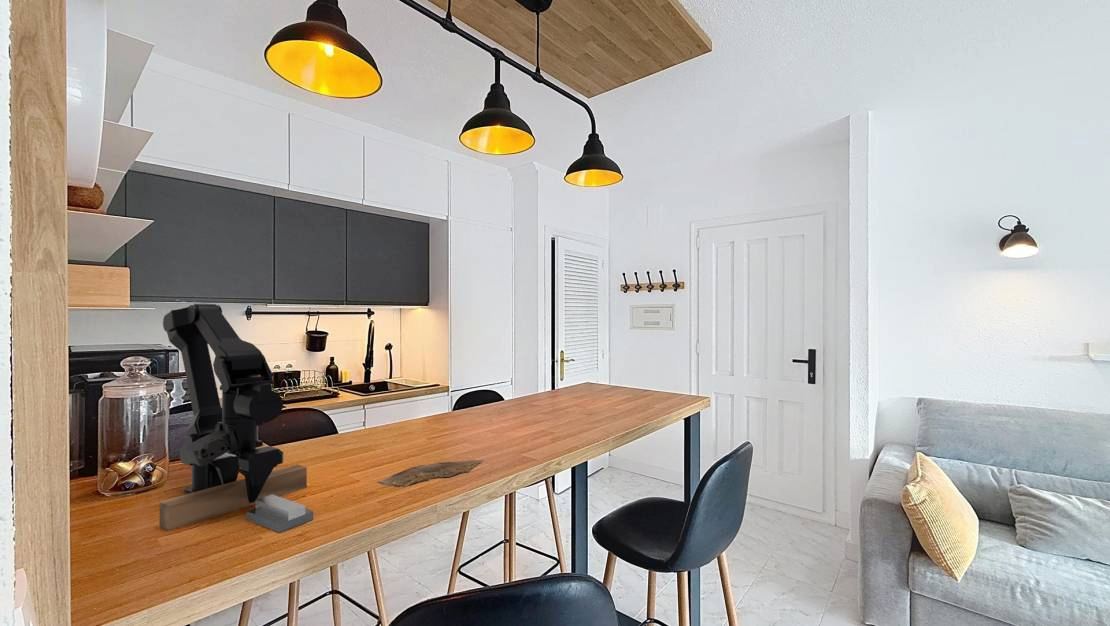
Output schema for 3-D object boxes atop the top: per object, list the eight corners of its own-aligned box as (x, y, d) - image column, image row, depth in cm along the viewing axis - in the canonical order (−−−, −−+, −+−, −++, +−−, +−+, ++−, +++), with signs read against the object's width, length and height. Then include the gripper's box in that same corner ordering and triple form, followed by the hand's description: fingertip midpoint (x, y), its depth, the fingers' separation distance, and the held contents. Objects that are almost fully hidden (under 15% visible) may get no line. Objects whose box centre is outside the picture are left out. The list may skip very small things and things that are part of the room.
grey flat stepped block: (246, 519, 86) (246, 502, 86) (280, 507, 91) (280, 491, 91) (279, 532, 81) (279, 514, 81) (313, 519, 86) (313, 502, 86)
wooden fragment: (385, 492, 100) (385, 487, 100) (370, 477, 109) (370, 473, 109) (496, 469, 115) (496, 464, 115) (475, 457, 124) (475, 453, 124)
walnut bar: (159, 527, 83) (159, 501, 83) (297, 485, 104) (297, 464, 104) (168, 533, 81) (168, 506, 81) (306, 488, 102) (306, 467, 102)
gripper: (166, 418, 90) (167, 502, 90) (218, 430, 81) (219, 525, 81) (231, 407, 100) (231, 484, 100) (285, 418, 90) (285, 502, 91)
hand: (240, 497), depth 93 cm, fingers open, 8 cm apart
